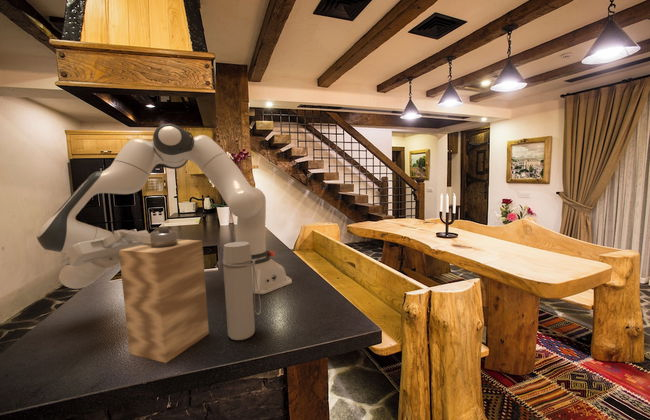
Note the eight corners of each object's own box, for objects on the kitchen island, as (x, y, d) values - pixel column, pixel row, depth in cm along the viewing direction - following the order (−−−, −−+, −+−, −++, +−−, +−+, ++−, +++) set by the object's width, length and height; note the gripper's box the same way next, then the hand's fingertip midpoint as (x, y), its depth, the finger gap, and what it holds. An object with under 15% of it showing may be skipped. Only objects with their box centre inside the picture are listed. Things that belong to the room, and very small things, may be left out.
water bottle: (229, 345, 77) (223, 248, 75) (226, 331, 84) (220, 243, 82) (265, 336, 81) (260, 244, 78) (259, 324, 88) (254, 239, 85)
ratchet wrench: (107, 239, 79) (106, 223, 78) (129, 234, 85) (128, 219, 84) (163, 248, 72) (162, 231, 72) (183, 243, 78) (182, 227, 77)
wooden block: (129, 353, 75) (119, 250, 72) (175, 327, 88) (168, 238, 85) (166, 363, 70) (156, 253, 68) (208, 333, 83) (202, 240, 81)
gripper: (51, 255, 76) (79, 229, 71) (129, 239, 95) (155, 217, 90) (62, 277, 75) (91, 252, 70) (138, 256, 94) (165, 236, 89)
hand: (128, 232), depth 80 cm, fingers closed on ratchet wrench, 2 cm apart
